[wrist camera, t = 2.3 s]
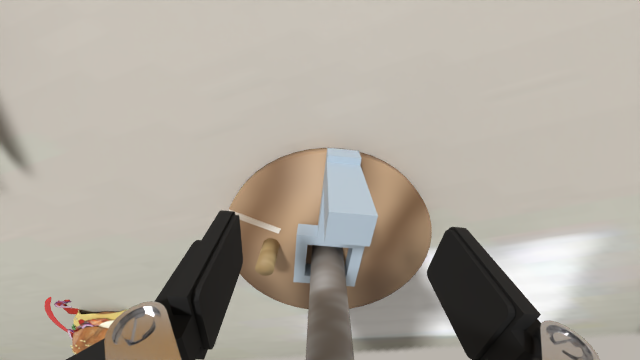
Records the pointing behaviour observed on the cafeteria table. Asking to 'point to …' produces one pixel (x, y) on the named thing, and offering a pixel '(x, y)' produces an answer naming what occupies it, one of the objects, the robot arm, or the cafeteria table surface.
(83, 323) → the hamburger
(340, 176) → the blue square ring handle
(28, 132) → the cafeteria table surface
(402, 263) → the post base
